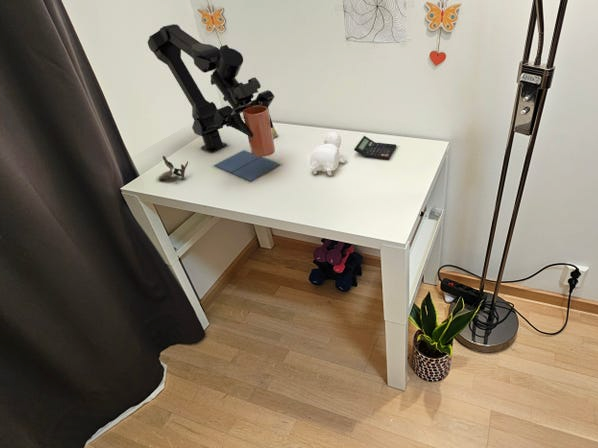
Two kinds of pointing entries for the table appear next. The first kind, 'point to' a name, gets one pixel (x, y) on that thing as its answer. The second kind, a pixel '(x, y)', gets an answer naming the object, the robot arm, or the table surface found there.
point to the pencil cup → (259, 130)
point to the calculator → (374, 149)
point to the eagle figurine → (172, 170)
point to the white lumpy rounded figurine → (327, 154)
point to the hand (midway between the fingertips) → (262, 132)
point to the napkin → (247, 165)
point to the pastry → (274, 132)
